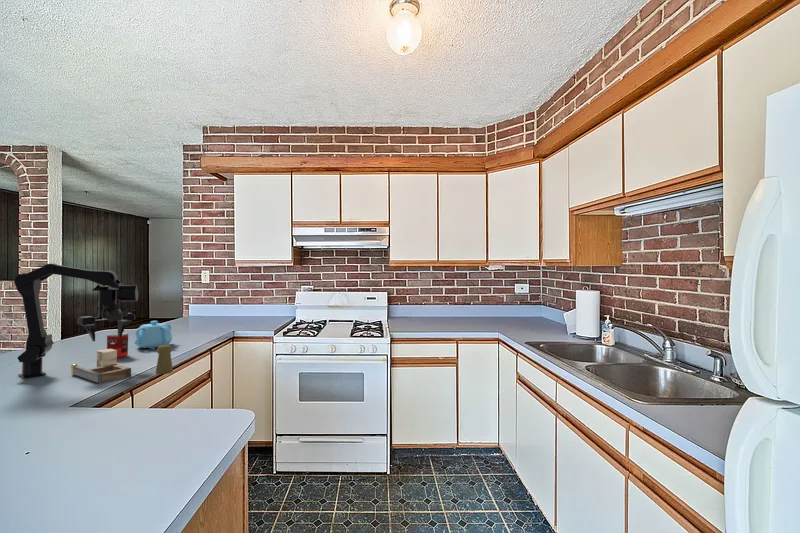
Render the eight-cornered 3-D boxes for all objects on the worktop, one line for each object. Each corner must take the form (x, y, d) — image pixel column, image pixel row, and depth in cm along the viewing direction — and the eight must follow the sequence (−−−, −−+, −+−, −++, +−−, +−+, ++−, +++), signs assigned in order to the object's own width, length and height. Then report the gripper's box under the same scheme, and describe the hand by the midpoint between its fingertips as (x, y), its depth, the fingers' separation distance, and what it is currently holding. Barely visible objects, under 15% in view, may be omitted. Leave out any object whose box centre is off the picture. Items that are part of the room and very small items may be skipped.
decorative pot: (167, 349, 199) (168, 323, 199) (130, 351, 194) (131, 323, 194) (174, 343, 214) (175, 318, 214) (140, 344, 209) (141, 319, 209)
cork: (169, 369, 163) (169, 343, 163) (175, 372, 159) (175, 345, 159) (153, 372, 159) (153, 345, 158) (158, 375, 155) (159, 347, 155)
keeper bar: (70, 373, 153) (70, 364, 152) (75, 372, 154) (76, 363, 154) (96, 382, 142) (96, 373, 142) (102, 381, 143) (102, 372, 143)
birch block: (96, 370, 159) (96, 350, 159) (110, 367, 164) (110, 348, 164) (102, 372, 157) (102, 352, 157) (116, 369, 161) (116, 350, 161)
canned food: (104, 356, 181) (105, 333, 181) (125, 354, 187) (125, 331, 187) (108, 359, 176) (109, 335, 176) (129, 357, 182) (130, 333, 182)
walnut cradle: (86, 377, 150) (86, 369, 150) (115, 371, 159) (115, 363, 159) (101, 382, 144) (101, 374, 144) (131, 375, 153) (131, 368, 153)
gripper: (89, 304, 148) (89, 345, 148) (142, 301, 164) (141, 338, 164) (76, 302, 153) (75, 342, 154) (128, 299, 170) (128, 335, 170)
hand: (106, 339), depth 160 cm, fingers open, 9 cm apart
